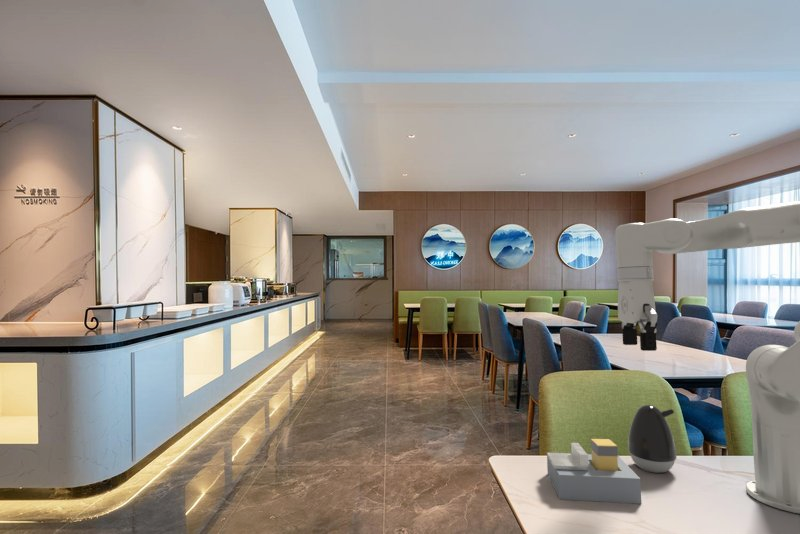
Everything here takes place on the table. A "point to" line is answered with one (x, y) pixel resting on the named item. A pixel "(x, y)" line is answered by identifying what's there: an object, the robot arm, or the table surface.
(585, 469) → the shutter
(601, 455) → the plug
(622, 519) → the table surface
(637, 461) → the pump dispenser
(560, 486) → the socket board
